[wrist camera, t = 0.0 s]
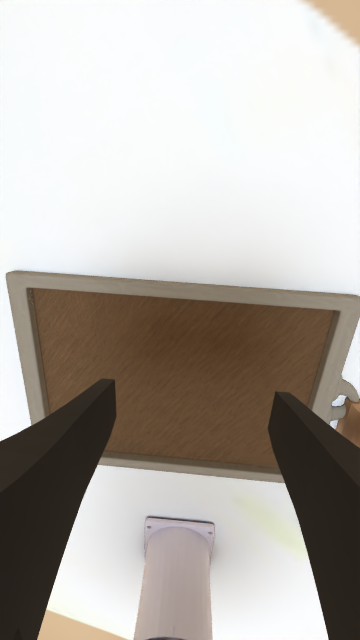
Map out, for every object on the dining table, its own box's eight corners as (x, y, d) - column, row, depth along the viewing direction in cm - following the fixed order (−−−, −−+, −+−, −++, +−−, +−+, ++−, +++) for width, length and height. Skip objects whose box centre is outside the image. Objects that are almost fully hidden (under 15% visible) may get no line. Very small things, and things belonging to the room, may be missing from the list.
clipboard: (3, 272, 19) (404, 301, 18) (17, 269, 21) (388, 295, 20) (36, 459, 26) (333, 488, 24) (45, 446, 27) (325, 473, 26)
